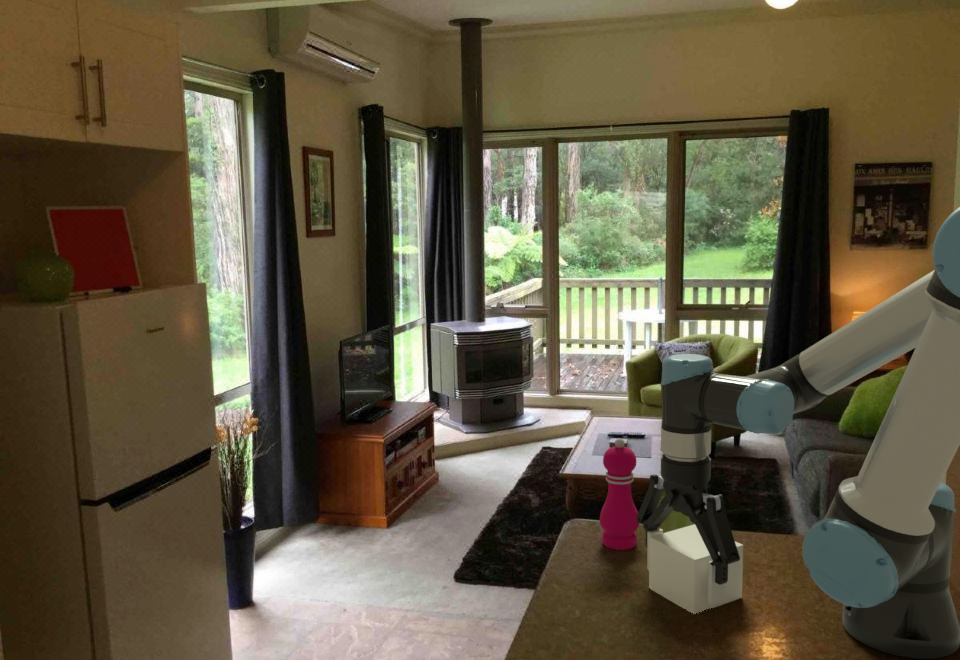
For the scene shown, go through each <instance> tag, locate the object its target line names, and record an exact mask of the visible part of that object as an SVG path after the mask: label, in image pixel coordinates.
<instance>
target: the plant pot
mask: <svg viewBox="0 0 960 660" xmlns="http://www.w3.org/2000/svg"><path fill="white" fill-rule="evenodd" d="M665 496H666V492H665V490H664V492H663V494H662V497H661V499H660V501H659V504H658V506H659V505H660V502H661V500H662V499H663V498H664V497H665ZM658 506H657V507H658ZM656 509H657V508H656ZM694 524H695V523H693V522H691V520H690V518H689V516H685V515H683V514H682V513H681V512H676V511H674V510H673V511H672V512H671V513H670V515H669V516H668V517H667V518H666V519H665V520H664V521H663V523H662V524H661V525H662V526H661V525H660V526H661V527H657V529H662V530H663V533H666V532H669V531H673V530H676V529H680V528H683V527H687V526H691V525H694Z"/></svg>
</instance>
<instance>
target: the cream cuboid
mask: <svg viewBox="0 0 960 660" xmlns="http://www.w3.org/2000/svg"><path fill="white" fill-rule="evenodd" d="M735 544H736V547H737V550H738V553H739V556H740V560H739V561H737V562H734V563H731V564H728V581H727V583H725V600H724V601H721V602H718V603H715V604H712V605H711V604H709V603H708V562H710V561H713V560H712V558H711V556H710V554H709V552H708V550H707V548H706V546H705V544H704V541H703V539H702V537H701V535H700V533H699V531H698V529H697V527H696V525H695V523H694V525H691V526H687V527H683V528H680V529H676V530H673V531H669V532H666V533H662V534H659V535H655V536H652V537H650V540H649V570H648V589H649V588H650V590H651V591H653V592H654V593H656V594H658V595H660V596H662V597H663V598H665V599H666V600H668V601H670V602H672V603H673V604H675V605H676V606H679V607H681V608H682V609H684V610H685V609H686V610H685V611H688V612H689V613H690V612H691V614H692V613H693V614H692V615H694V614H695V615H697V614H700V613H703V612H705V611H704V610H706V609H709V608H710V609H709V610H711V608H712V609H714V608H717V607H721V606H723V605H725V604H728V603H731V602H734V601H737V600H739V599H742V598H743V576H744V575H743V573H744V571H743V569H744V568H743V567H744V544H742V543H740V542H738V541H735ZM718 555H720V552H718ZM702 611H703V612H702ZM706 611H707V610H706ZM699 612H700V613H699ZM696 613H697V614H696Z"/></svg>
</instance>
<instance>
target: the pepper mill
mask: <svg viewBox="0 0 960 660" xmlns="http://www.w3.org/2000/svg"><path fill="white" fill-rule="evenodd" d="M625 443H626V442H625V441H624V439H622V438H617V439H616V440H614V446H612V447H611V446H610V447H609V448H608V449H607V450H606V451H605V452H604V454H603V457H602V464H603V466H604V468H605V469H606V470H607V471H606V472H605V476H606V477H605V481H607V485H608V490H607V494H606V495H607V496H606V498H605V501H604V503H603V506H602V508H601V511H600V515H599V524H600V526H601V528H602V529H603V532H602V535H601V536H602V537H601V539H602V540H601V541H602V542H601V543H602V544H603V546H605V547H606V548H607V549H610V550H611V549H612V550H616V551H617V550H618V551H625V550H631V549H634V548H635V547H636V546H637V545H638V543H637V541H638V540H637V538H638V537H637V536H638V535H637V533H636V532H635V531H637V530H638V528H639V527H640V523H638V522H637V520H636V517H637V515H638V512H639V511H638V509H637V507H636V505H635V503H634V500H633V495H632V483H633V482H634V472H633V471H634V470H635V468H636V466H637V457H636V454H635V453H634V451H633V450H632V449H631V448H629V447H628V446H627V447H626V446H625V445H626V444H625Z"/></svg>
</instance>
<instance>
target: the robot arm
mask: <svg viewBox="0 0 960 660" xmlns="http://www.w3.org/2000/svg"><path fill="white" fill-rule="evenodd" d="M932 261H933V266H934V270H932V271H930V272H929V273H927V274H925V275H924V276H922V277H921V278H919V279H917V280H916V281H914V282H912V283H911V284H909V285H908V286H906V287H904V288H903V289H902V290H900V291H897V293H895V294H893V295H892V296H890V297H889V298H888V297H887V299H885V300H884V301H882V302H880V303H879V304H877V305H875V306H874V307H872V308H871V309H869V310H867V311H866V312H864V313H862V314H861V315H859V316H858V317H856V318H854V319H853V320H851V321H850V322H848V323H846V324H845V325H843V326H842V327H840V328H838V329H837V330H835V331H834V332H832V333H830V334H828V335H827V336H825V337H824V338H822V339H820V340H819V341H818V342H815V343H814V344H813V345H810V346H809V347H808V348H806V349H805V350H803V351H801V352H800V353H798V354H796V355H795V356H793V357H791V358H789V359H788V360H787V361H785V362H783V363H782V364H780V365H778V366H776V367H773V368H769V369H766V370H762V371H760V372H757V373H756V372H755V373H752V374H748V375H746V376H743V375H742V376H741V375H731V374H726V373H725V374H724V373H719V372H716V371H714V364H713V363H714V362H713V360H712V358H710V357H709V356H707V355H706V356H705V354H704V355H703V354H698V353H696V354H695V353H680V354H679V353H678V354H673V355H668V356H667V357H666V358H665V359H663V362H662V367H661V369H662V371H661V381H660V387H661V389H660V392H661V393H660V395H661V397H660V398H661V399H660V400H661V424H660V425H661V427H660V451H661V453H662V455H661V456H660V472H659V473H654V474H651V475H650V476H649V480H648V481H649V482H648V489H647V491H646V493H645V496H644V498H643V501H642V503H641V505H640V508H639V511H638V515H637V517H636V520H637V522H638V523H639V524H642V525H643V528H644V530H645V547H646V548H647V553H646V554H647V556H646V558H647V559H646V560H647V561H646V564H647V565H646V566H647V567H646V568H647V569H646V570H648V571H649V540H650V537H652V536H655V535H659V534H662V533H663V530H662V529H657V527H661V526H662V525H661V524H662V523H663V521H664V520H665V519H666V518H667V517H668V516H669V515H670V513H671V512H672V511H673V510H674V511H676V512H681V513H682V514H683V515H685V516H689V518H690V520H691V522H693V523H694V524H695V525H696V527H697V529H698V531H699V533H700V535H701V537H702V539H703V541H704V544H705V546H706V548H707V550H708V552H709V554H710V556H711V558H712V560H713V561H710V562H708V603H709V604H711V605H712V604H715V603H718V602H721V601H724V600H725V583H727V581H728V564H731V563H734V562H737V561H739V560H740V556H739V553H738V550H737V547H736V544H735V538H734V535H733V531H732V528H731V526H730V522H729V520H728V515H727V513H726V510H725V509H726V508H725V507H726V506H725V498H724V496H723V494H720V493H719V494H717V495H713V494H709V492H708V488H707V487H708V483H709V481H710V480H711V478H712V477H711V475H712V471H711V470H712V467H711V466H712V458H711V457H710V456H709V455H710V454H711V451H712V424H715V425H718V426H719V425H720V426H722V427H723V426H724V427H729V428H732V429H733V428H734V429H738V430H743V431H747V432H749V433H753V434H757V435H758V434H764V435H772V436H773V435H774V436H775V435H780V434H782V433H783V432H785V430H786V429H787V426H789V425H790V424H791V421H792V419H793V415H794V414H798V413H802V412H806V411H808V410H810V409H812V408H814V407H816V406H817V405H819V404H820V403H821V402H823V400H824V399H826V398H828V397H829V396H831V395H833V394H834V393H836V392H838V391H840V390H841V389H842V390H843V388H845V387H847V386H849V385H851V384H853V383H854V382H856V381H857V380H859V379H861V378H863V377H865V376H867V375H868V374H870V373H873V372H874V371H876V370H877V369H879V368H881V367H883V366H885V365H887V364H888V363H890V362H892V361H894V360H896V359H898V358H899V357H902V356H903V355H905V354H907V353H908V352H910V351H912V350H914V351H913V353H912V355H911V357H910V360H909V362H908V363H907V366H906V369H904V370H905V371H904V373H903V374H902V375H903V376H902V378H901V380H900V382H899V383H898V386H897V388H896V390H895V393H894V395H893V397H892V399H891V401H890V404H889V406H888V408H887V410H886V412H885V413H886V414H885V415H884V417H883V419H882V421H881V424H880V426H879V429H878V431H877V432H876V435H875V437H874V439H873V442H872V444H871V446H870V449H869V450H868V452H867V455H866V457H865V459H864V461H863V463H862V466H861V469H860V470H859V473H858V475H857V476H852V477H849V478H848V477H847V478H846V479H843V480H842V481H841V482H840V484H839V485H838V487H837V490H836V492H835V495H834V497H833V498H832V499H833V500H832V501H831V503H830V505H829V507H828V510H827V513H826V514H825V515H824V518H823V519H821V520H818V521H816V522H815V523H814V524H812V526H811V527H810V529H809V530H808V531H807V533H805V535H804V539H803V541H802V548H801V549H802V550H801V551H802V559H803V563H804V565H805V567H806V568H807V571H808V572H809V576H810V577H811V579H812V580H813V583H815V584H816V585H817V587H819V589H820V590H821V591H822V592H824V593H825V594H826V595H828V597H830V598H831V599H833V600H834V601H837V603H840V604H842V605H843V606H842V615H841V616H842V618H841V621H842V626H843V628H844V630H845V631H846V632H847V633H848V634H849V635H850V636H851V637H852V638H854V639H855V640H857V642H860V643H862V644H863V645H866V646H868V647H869V648H872V649H874V650H877V651H880V652H883V653H886V654H889V655H893V656H896V657H897V656H898V657H902V658H909V659H920V660H932V659H940V658H941V659H942V658H946V657H947V656H951V655H953V654H954V653H955V652H956V651H958V650H959V648H960V622H959V619H958V616H957V611H956V608H955V604H954V601H953V598H952V596H951V591H950V575H951V565H952V564H951V562H952V549H953V536H954V523H955V522H954V519H955V514H956V511H957V508H956V507H955V493H954V491H953V490H952V488H951V487H950V486H948V485H947V484H945V483H943V482H942V481H943V479H944V477H945V475H946V473H947V472H948V469H949V467H950V465H951V464H952V462H953V460H954V458H955V455H956V453H957V452H958V449H959V447H960V206H959V207H958V208H957V209H955V210H954V211H953V212H952V213H950V214H949V216H948V217H947V218H945V220H944V221H943V222H942V224H941V226H940V227H939V229H938V230H937V232H936V235H935V238H934V240H933V247H932ZM664 490H665V492H666V496H665V497H664V498H663V499H662V500H661V502H660V505H659V506H658V504H659V501H660V499H661V497H662V494H663V492H664ZM657 506H658V507H657ZM656 508H657V509H656ZM700 512H701V513H700ZM660 525H661V526H660ZM718 552H720V555H718Z"/></svg>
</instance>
